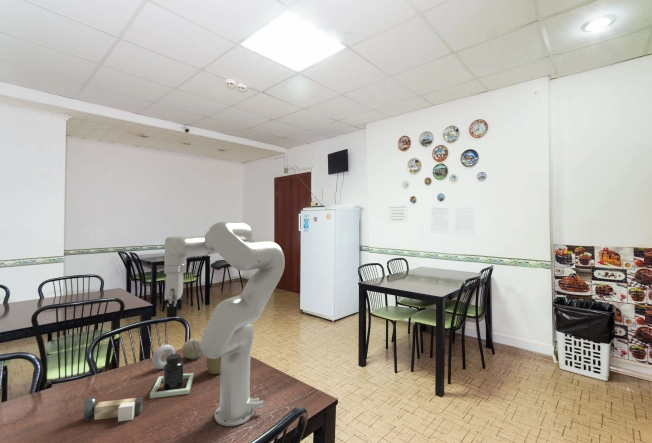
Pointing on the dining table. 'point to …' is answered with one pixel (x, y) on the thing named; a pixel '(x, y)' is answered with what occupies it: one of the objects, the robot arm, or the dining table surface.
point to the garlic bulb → (192, 349)
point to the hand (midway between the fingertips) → (174, 313)
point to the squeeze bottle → (213, 365)
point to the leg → (115, 408)
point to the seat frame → (171, 392)
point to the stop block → (126, 411)
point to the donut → (159, 352)
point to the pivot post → (89, 408)
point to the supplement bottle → (173, 373)
